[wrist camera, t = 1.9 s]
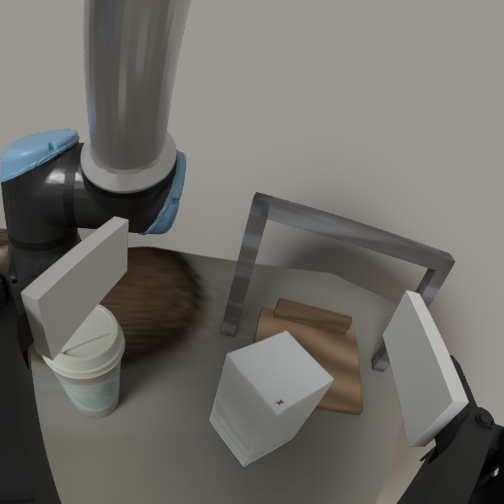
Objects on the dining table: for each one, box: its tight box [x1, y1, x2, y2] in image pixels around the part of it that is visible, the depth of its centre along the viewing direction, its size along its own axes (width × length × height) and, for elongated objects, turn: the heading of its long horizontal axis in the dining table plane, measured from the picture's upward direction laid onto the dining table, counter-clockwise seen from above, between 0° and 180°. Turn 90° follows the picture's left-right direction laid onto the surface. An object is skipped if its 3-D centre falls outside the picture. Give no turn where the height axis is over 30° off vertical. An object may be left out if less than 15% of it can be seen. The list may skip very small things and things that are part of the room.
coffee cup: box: [43, 304, 125, 418], centre depth 28 cm, size 9×8×12 cm
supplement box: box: [209, 331, 334, 467], centre depth 30 cm, size 7×7×13 cm
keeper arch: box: [220, 192, 455, 415], centre depth 39 cm, size 16×26×21 cm, turn 81°
